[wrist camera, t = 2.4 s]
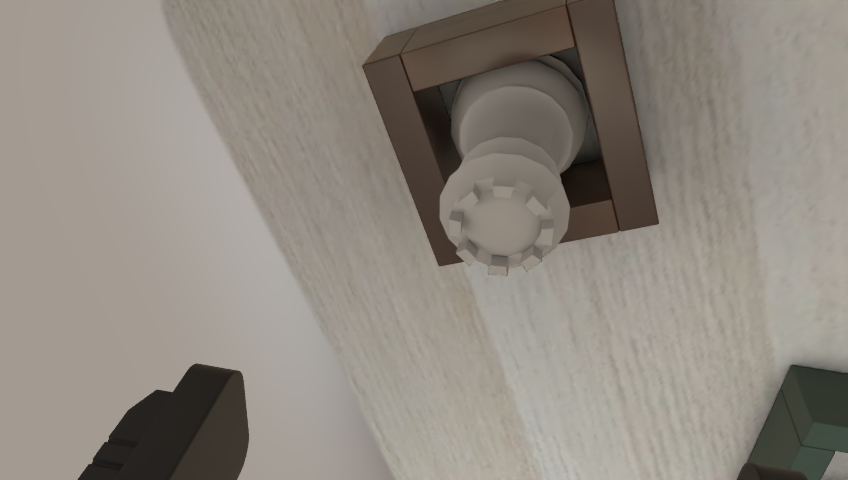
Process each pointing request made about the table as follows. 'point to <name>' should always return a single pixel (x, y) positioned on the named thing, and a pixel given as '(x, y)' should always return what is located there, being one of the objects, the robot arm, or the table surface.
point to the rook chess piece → (513, 162)
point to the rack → (806, 423)
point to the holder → (500, 47)
